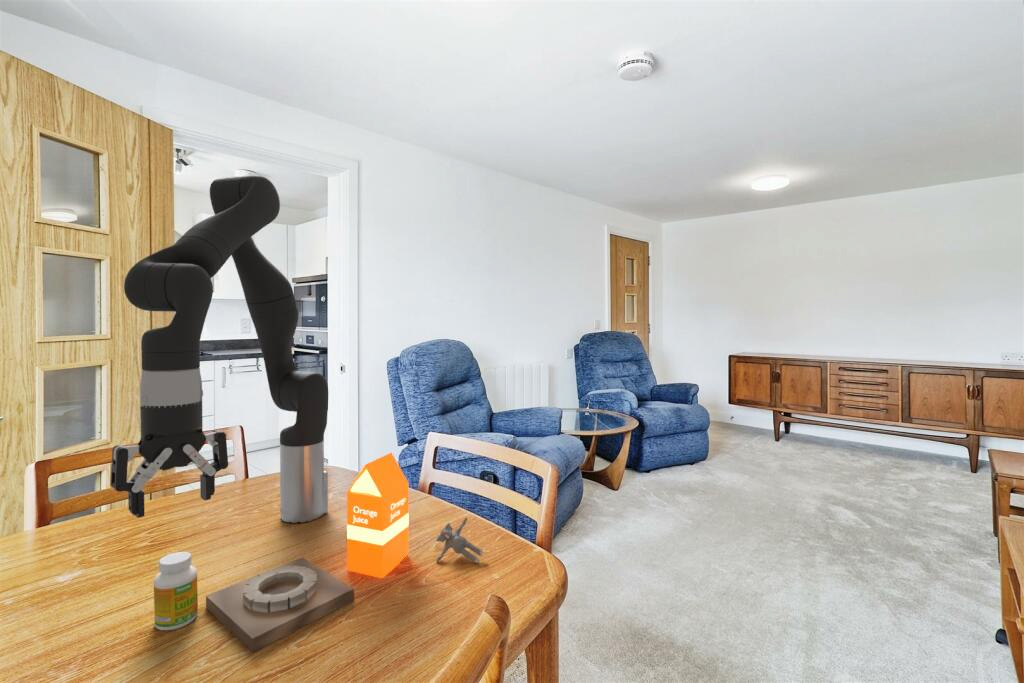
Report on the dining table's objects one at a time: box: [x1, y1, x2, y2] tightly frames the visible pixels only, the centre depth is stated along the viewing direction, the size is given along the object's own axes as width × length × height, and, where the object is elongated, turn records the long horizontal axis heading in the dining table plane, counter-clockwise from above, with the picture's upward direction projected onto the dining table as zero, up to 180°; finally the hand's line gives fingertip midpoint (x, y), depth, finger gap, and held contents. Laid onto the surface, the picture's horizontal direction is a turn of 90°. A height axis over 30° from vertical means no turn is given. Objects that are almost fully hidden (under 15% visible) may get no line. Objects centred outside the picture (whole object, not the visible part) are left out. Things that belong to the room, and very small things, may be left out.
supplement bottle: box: [153, 551, 199, 631], centre depth 74 cm, size 5×5×10 cm
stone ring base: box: [205, 557, 355, 653], centre depth 78 cm, size 16×16×4 cm
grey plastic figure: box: [435, 517, 484, 564], centre depth 94 cm, size 10×6×9 cm
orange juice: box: [346, 452, 410, 579], centre depth 91 cm, size 8×9×20 cm
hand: (173, 507), depth 73 cm, fingers open, 8 cm apart
